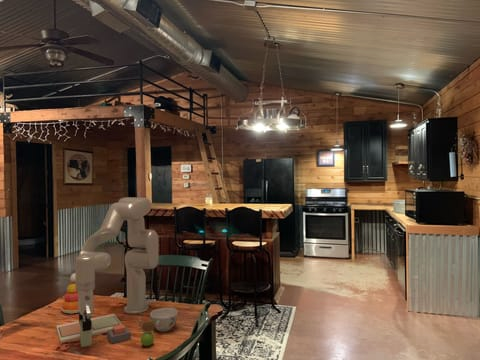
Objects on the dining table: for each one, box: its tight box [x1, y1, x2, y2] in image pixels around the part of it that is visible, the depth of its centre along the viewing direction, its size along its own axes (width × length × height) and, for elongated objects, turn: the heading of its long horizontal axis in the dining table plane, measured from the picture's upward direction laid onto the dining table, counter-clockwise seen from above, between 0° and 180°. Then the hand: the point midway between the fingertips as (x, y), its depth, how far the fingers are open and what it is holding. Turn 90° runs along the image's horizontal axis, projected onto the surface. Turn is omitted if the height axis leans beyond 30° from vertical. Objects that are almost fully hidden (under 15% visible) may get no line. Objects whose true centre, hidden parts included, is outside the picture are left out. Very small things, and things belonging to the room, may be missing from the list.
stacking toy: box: [60, 272, 79, 315], centre depth 187 cm, size 14×14×20 cm
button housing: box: [106, 325, 132, 345], centre depth 154 cm, size 8×8×3 cm
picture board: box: [56, 313, 122, 344], centre depth 164 cm, size 26×18×1 cm
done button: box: [113, 323, 126, 335], centre depth 154 cm, size 4×4×3 cm
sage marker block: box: [79, 320, 93, 348], centre depth 148 cm, size 4×4×10 cm
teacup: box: [149, 307, 179, 332], centre depth 161 cm, size 15×12×8 cm
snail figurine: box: [138, 316, 155, 347], centre depth 147 cm, size 5×6×12 cm
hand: (84, 326), depth 148 cm, fingers open, 9 cm apart
